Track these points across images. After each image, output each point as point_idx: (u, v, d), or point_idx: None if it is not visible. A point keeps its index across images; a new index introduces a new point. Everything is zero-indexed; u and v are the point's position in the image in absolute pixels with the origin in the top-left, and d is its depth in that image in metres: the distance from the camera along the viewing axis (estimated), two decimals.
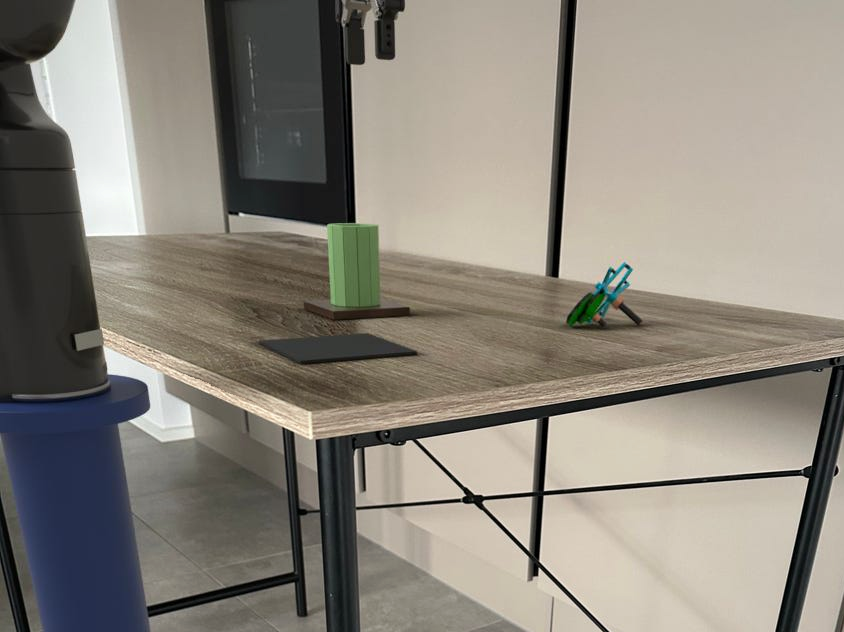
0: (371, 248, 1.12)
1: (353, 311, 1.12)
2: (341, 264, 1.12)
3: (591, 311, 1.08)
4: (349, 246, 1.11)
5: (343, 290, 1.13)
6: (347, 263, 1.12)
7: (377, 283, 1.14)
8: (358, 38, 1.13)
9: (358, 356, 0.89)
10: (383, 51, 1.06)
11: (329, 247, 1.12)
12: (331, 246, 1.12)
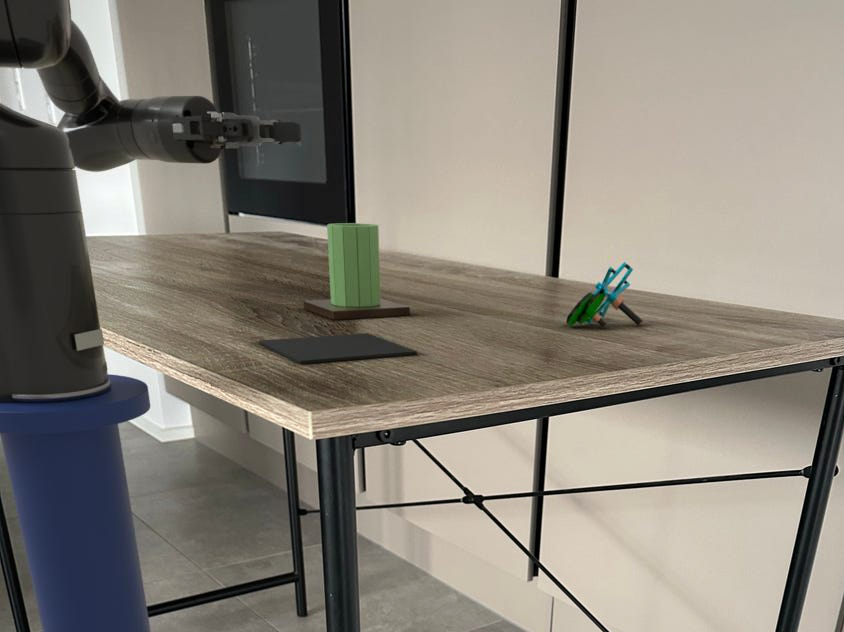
0: (371, 248, 1.12)
1: (353, 311, 1.12)
2: (341, 264, 1.12)
3: (591, 311, 1.08)
4: (349, 246, 1.11)
5: (343, 290, 1.13)
6: (347, 263, 1.12)
7: (377, 283, 1.14)
8: None
9: (358, 356, 0.89)
10: None
11: (329, 247, 1.12)
12: (331, 246, 1.12)
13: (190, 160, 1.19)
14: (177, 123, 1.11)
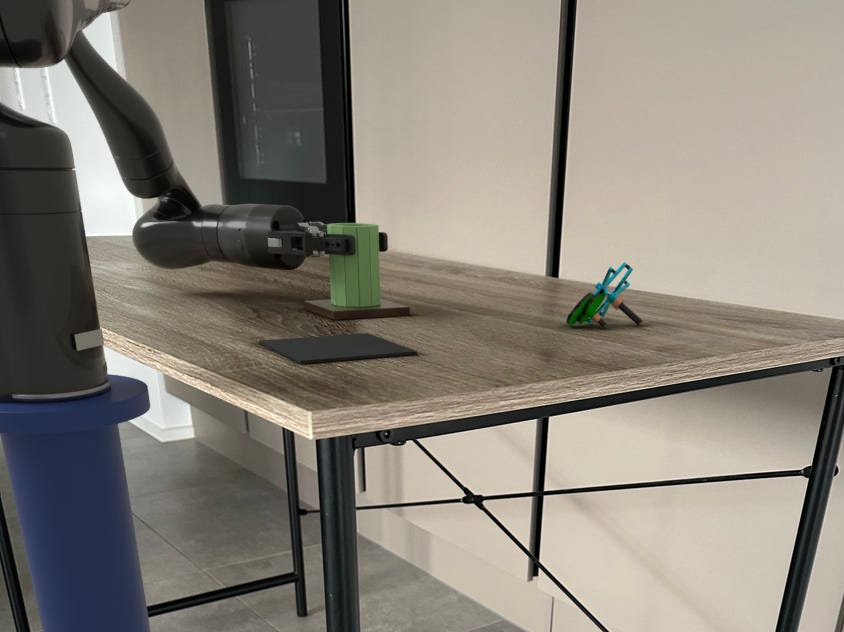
0: (371, 248, 1.12)
1: (353, 311, 1.12)
2: (341, 264, 1.12)
3: (591, 311, 1.08)
4: None
5: (343, 290, 1.13)
6: (347, 263, 1.12)
7: (377, 283, 1.14)
8: None
9: (358, 356, 0.89)
10: None
11: None
12: None
13: (276, 267, 1.19)
14: (274, 238, 1.11)
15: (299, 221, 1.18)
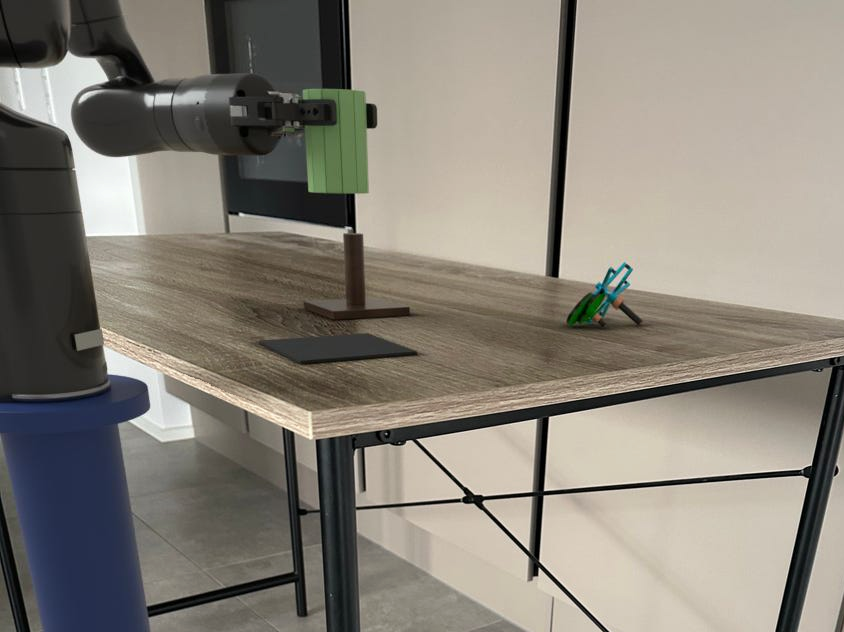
0: (356, 119, 0.92)
1: (353, 311, 1.12)
2: (320, 138, 0.92)
3: (591, 311, 1.08)
4: None
5: (323, 172, 0.93)
6: (327, 137, 0.91)
7: (364, 165, 0.94)
8: None
9: (358, 356, 0.89)
10: None
11: None
12: None
13: (242, 151, 0.98)
14: (238, 105, 0.90)
15: None
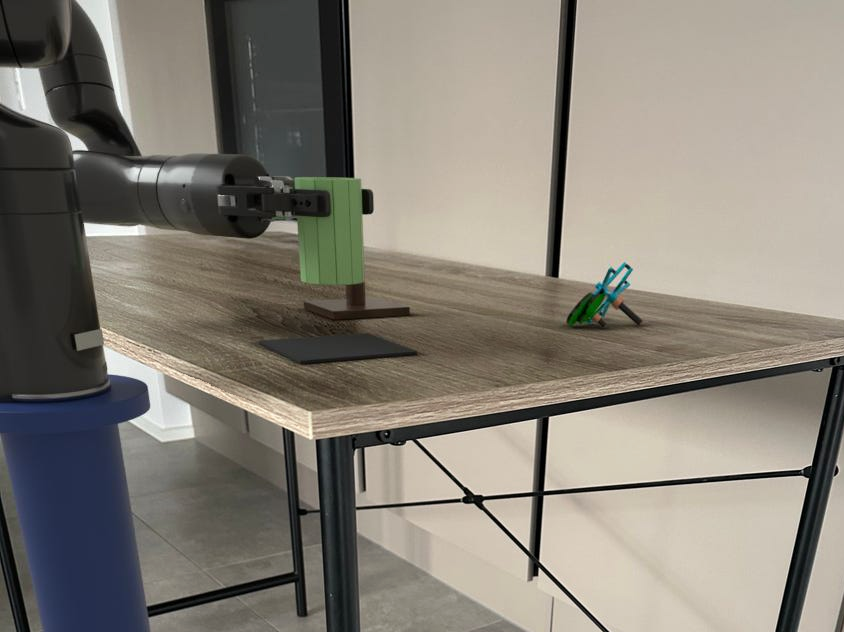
0: (352, 208, 0.86)
1: (353, 311, 1.12)
2: (313, 229, 0.86)
3: (591, 311, 1.08)
4: None
5: (316, 263, 0.88)
6: (321, 228, 0.86)
7: (360, 254, 0.89)
8: None
9: (358, 356, 0.89)
10: None
11: None
12: None
13: (231, 235, 0.93)
14: (226, 194, 0.85)
15: (261, 176, 0.92)
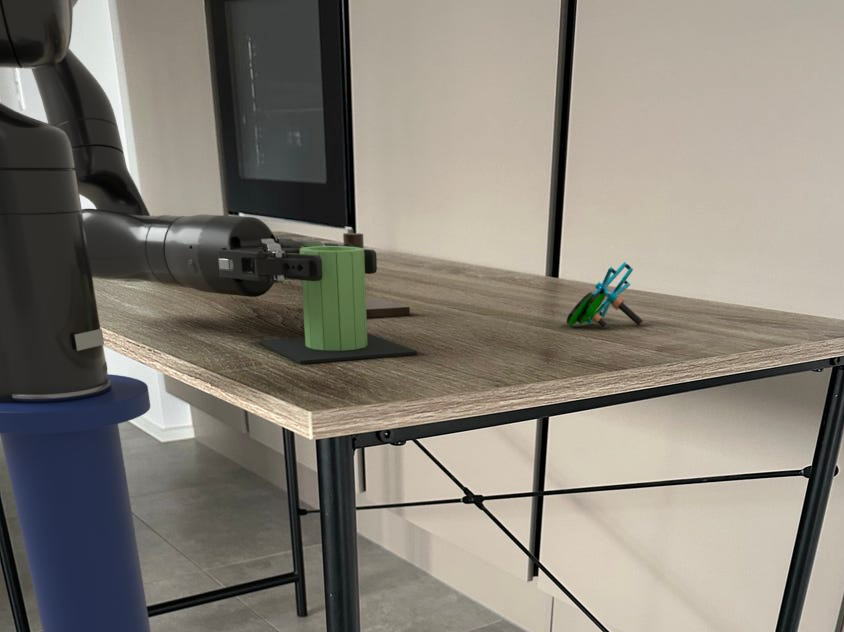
0: (355, 278, 0.89)
1: None
2: (317, 298, 0.89)
3: (591, 311, 1.08)
4: (327, 276, 0.88)
5: (320, 330, 0.90)
6: (325, 297, 0.89)
7: (363, 321, 0.92)
8: None
9: (358, 356, 0.89)
10: None
11: None
12: None
13: (237, 294, 0.96)
14: (225, 258, 0.88)
15: (266, 236, 0.95)
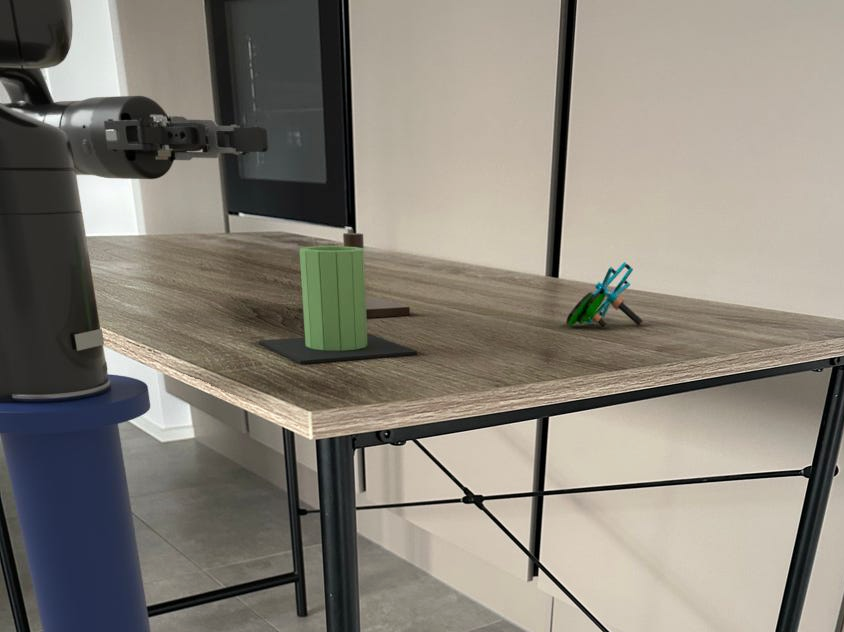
0: (355, 278, 0.89)
1: None
2: (317, 298, 0.89)
3: (591, 311, 1.08)
4: (327, 276, 0.88)
5: (320, 330, 0.90)
6: (325, 297, 0.89)
7: (363, 321, 0.92)
8: None
9: (358, 356, 0.89)
10: None
11: (302, 277, 0.90)
12: (305, 276, 0.89)
13: (132, 175, 0.96)
14: (111, 129, 0.89)
15: None
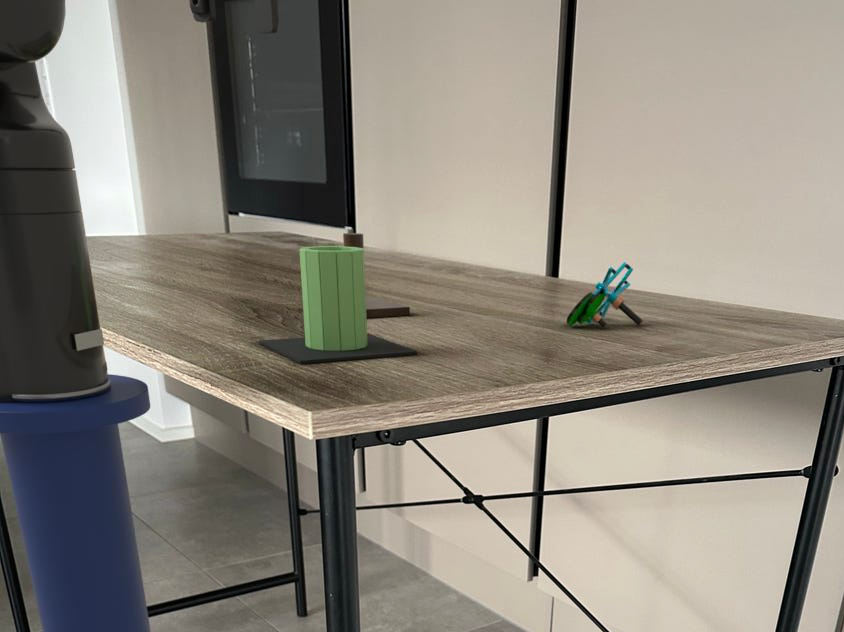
0: (355, 278, 0.89)
1: None
2: (317, 298, 0.89)
3: (591, 311, 1.08)
4: (327, 276, 0.88)
5: (320, 330, 0.90)
6: (325, 297, 0.89)
7: (363, 321, 0.92)
8: None
9: (358, 356, 0.89)
10: (276, 25, 0.94)
11: (302, 277, 0.90)
12: (305, 276, 0.89)
13: None
14: None
15: None
